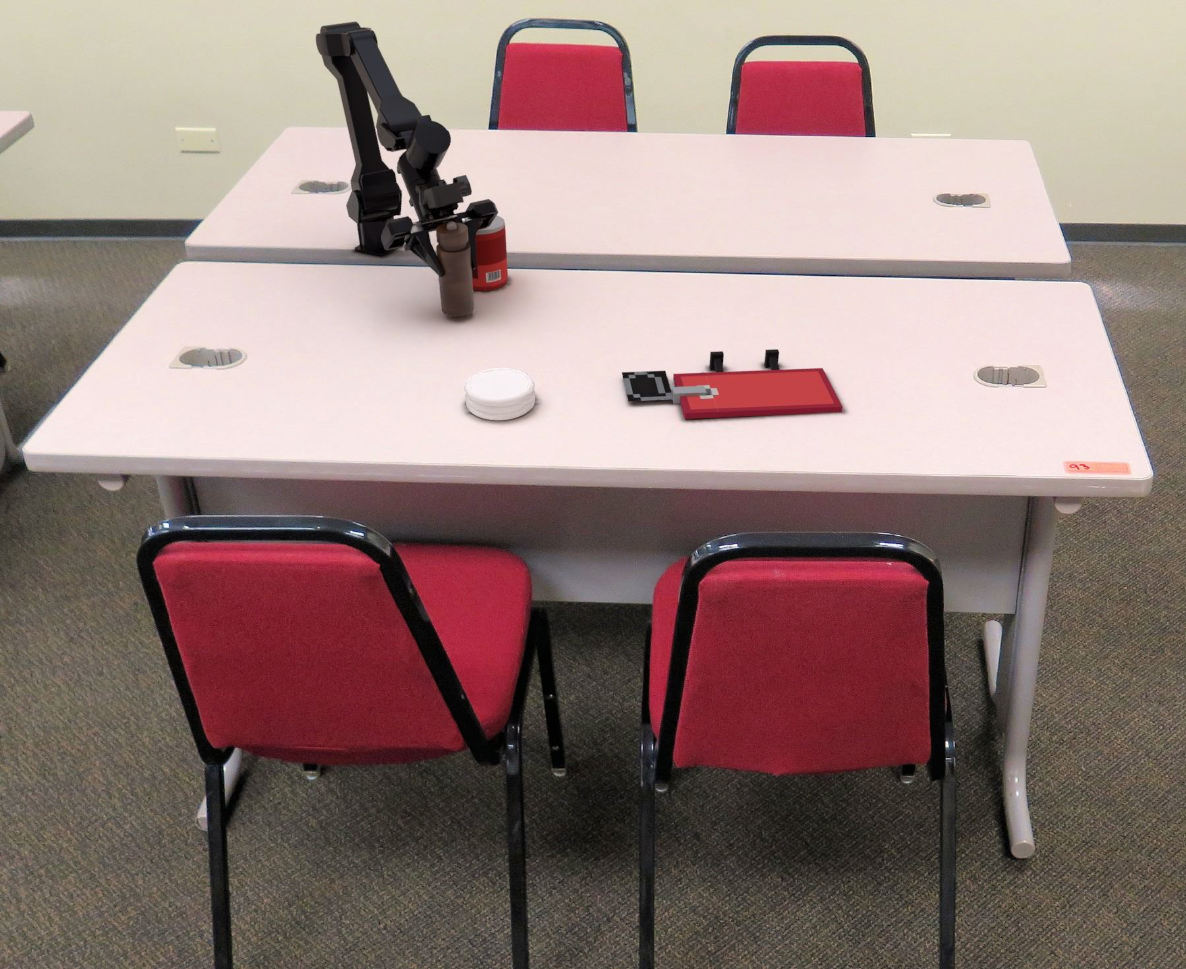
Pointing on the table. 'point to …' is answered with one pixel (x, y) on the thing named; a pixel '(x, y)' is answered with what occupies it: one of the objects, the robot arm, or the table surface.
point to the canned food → (491, 257)
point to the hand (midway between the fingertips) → (458, 272)
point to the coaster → (499, 393)
